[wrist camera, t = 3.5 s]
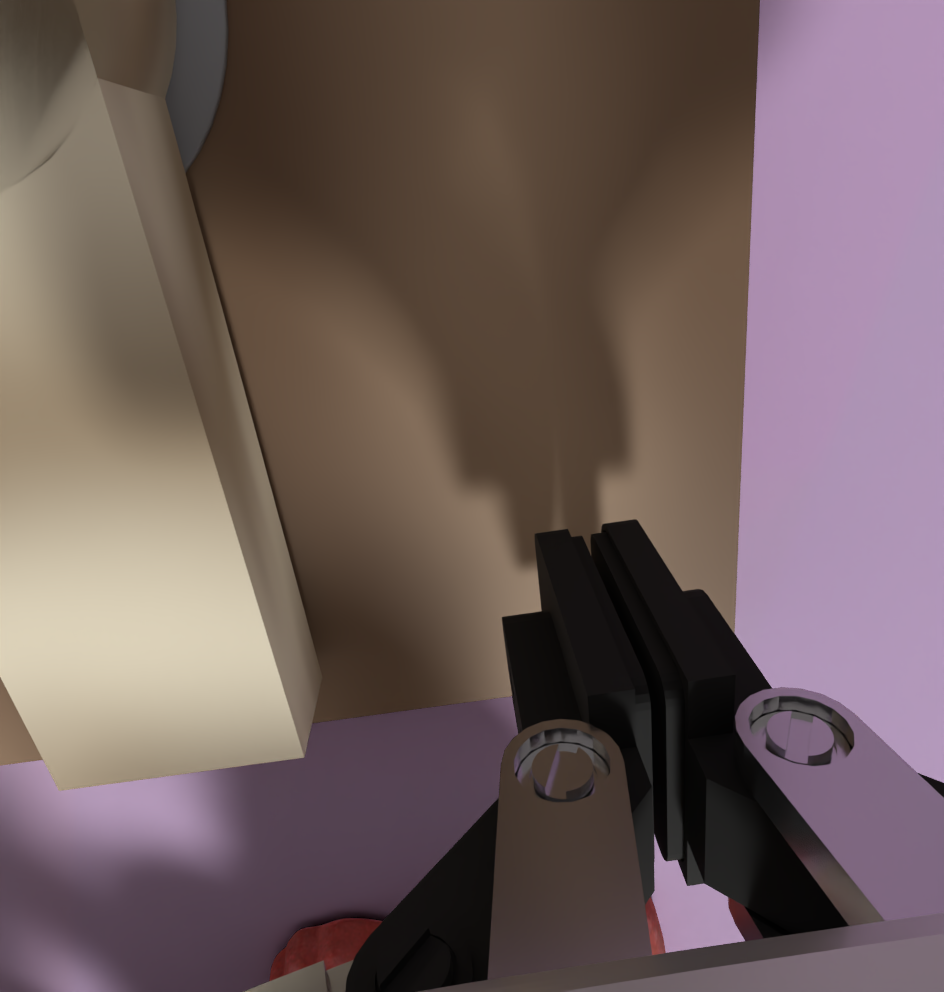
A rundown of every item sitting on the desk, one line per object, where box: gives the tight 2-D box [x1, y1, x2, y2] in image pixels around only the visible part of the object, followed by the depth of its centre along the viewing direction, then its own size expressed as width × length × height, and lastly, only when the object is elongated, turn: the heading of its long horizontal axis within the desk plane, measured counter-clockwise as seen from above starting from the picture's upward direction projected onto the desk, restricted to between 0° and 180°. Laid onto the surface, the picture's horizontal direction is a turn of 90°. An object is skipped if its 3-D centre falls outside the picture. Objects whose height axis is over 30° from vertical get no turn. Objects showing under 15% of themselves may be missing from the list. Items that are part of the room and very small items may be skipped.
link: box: [0, 0, 322, 791], centre depth 8 cm, size 14×5×4 cm, turn 7°
